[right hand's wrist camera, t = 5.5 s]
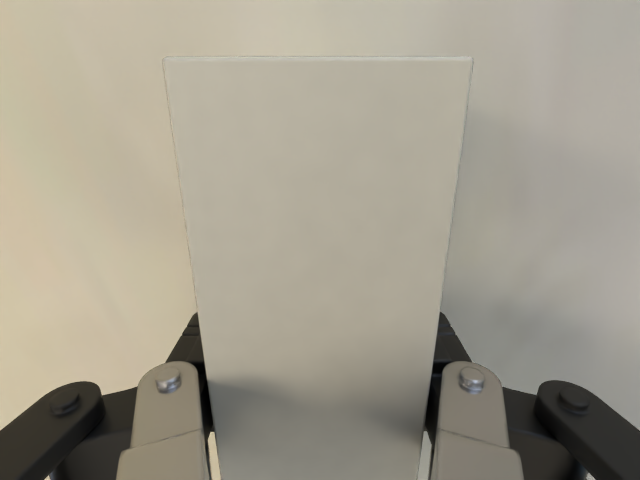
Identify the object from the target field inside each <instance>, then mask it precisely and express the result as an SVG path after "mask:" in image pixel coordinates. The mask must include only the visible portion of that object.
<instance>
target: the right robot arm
mask: <svg viewBox="0 0 640 480" xmlns="http://www.w3.org/2000/svg"><path fill="white" fill-rule="evenodd" d="M424 431H427V432H428V435H429V439H430V442H431V444H432V445H431V452H430V462H429V473H428V480H587V479H586V477H587V474H588V472H589V473H590V474H591V475H592V476H593V477H594V478H595V479H596V480H640V431H639V430H638V429H637V428H636V427H634V426H633V425H632V424H631V423H629V422H628V421H627V420H626V419H624V418H623V417H622V416H621V415H619V414H618V413H617V412H616V411H614V410H613V409H612V408H611V407H609V406H608V405H607V404H606V403H604V402H603V401H602V400H601V399H599V398H598V397H597V396H595V395H594V394H593V393H591V392H590V391H588V390H586V389H584V388H582V387H580V386H578V385H575V384H572V383H569V382H565V381H558V380H552V381H546V382H544V383H542V384H541V385H540V386H539V389H538V392H537V395H533V394H529V393H524V392H520V391H516V390H511V389H508V388H504V387H502V384H501V382H500V380H499V379H498V377H497V376H496V375H495V374H494V373H493V372H491V371H490V370H489V369H487V368H485V367H483V366H481V365H479V364H476V363H472V361H471V359H470V358H469V356H468V354H467V352H466V351H465V349H464V347H463V346H462V344H461V342H460V340H459V339H458V337H457V335H455V332H454V330H453V328H452V327H451V326H450V323H449V322H448V320H447V318H446V316H445V315H444V314H443V313H442V312H440V314H439V322H438V329H437V336H436V344H435V351H434V359H433V366H432V373H431V381H430V388H429V396H428V403H427V410H426V418H425V425H424ZM210 432H214V425H213V418H212V411H211V404H210V397H209V390H208V383H207V375H206V368H205V361H204V354H203V347H202V340H201V333H200V326H199V319H198V312H197V313H196V314H194V315H193V316H192V318H191V320H190V322H189V323H188V325H187V327H186V328H185V330H184V332H183V333H182V336H181V337H180V339H179V340H178V342H177V344H176V345H175V347H174V349H173V350H172V352H171V354H170V356H169V357H168V359H167V361H166V362H165V363H164V364H161V365H159V366H157V367H155V368H153V369H151V370H150V371H149V372H147V373H146V374H145V375H144V376H143V377H142V379H141V380H140V382H139V384H138V386H137V387H135V388H132V389H128V390H124V391H120V392H116V393H111V394H107V395H103V396H102V394H101V391H100V388H99V386H98V385H96V384H95V383H92V382H86V381H83V382H74V383H70V384H67V385H64V386H61V387H59V388H57V389H55V390H53V391H51V392H49V393H48V394H46V395H45V396H43V397H42V398H41V399H39V400H38V401H37V402H36V403H34V404H33V405H32V406H31V407H29V408H28V409H27V410H26V411H24V412H23V413H22V414H21V415H19V416H18V417H17V418H16V419H14V420H13V421H12V422H11V423H9V424H8V425H7V426H6V427H4V428H3V429H2V430H1V431H0V480H44V479H45V478H46V477H47V476H48V475H49V477H50V480H212V473H211V463H210V452H209V446H208V437H209V434H210Z"/></svg>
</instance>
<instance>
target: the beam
mask: <svg viewBox="0 0 640 480" xmlns="http://www.w3.org/2000/svg"><path fill="white" fill-rule="evenodd" d="M473 63H474V62H473V58H471V57H469V56H266V57H165V58H163V62H162V64H163V71H164V78H165V85H166V92H167V99H168V106H169V114H170V121H171V128H172V135H173V142H174V149H175V156H176V163H177V170H178V177H179V184H180V191H181V198H182V206H183V213H184V220H185V227H186V234H187V241H188V248H189V255H190V262H191V269H192V276H193V283H194V291H195V298H196V305H197V312H198V319H199V326H200V333H201V340H202V347H203V354H204V361H205V368H206V375H207V383H208V390H209V397H210V404H211V411H212V418H213V425H214V432H215V439H216V446H217V453H218V460H219V467H220V475H221V480H417V477H418V469H419V462H420V455H421V447H422V440H423V432H424V425H425V418H426V410H427V403H428V396H429V388H430V381H431V373H432V366H433V359H434V351H435V344H436V336H437V329H438V322H439V314H440V307H441V299H442V292H443V285H444V277H445V270H446V262H447V255H448V248H449V240H450V233H451V226H452V218H453V211H454V203H455V196H456V189H457V181H458V174H459V166H460V159H461V152H462V144H463V137H464V129H465V122H466V115H467V107H468V100H469V92H470V85H471V78H472V70H473Z"/></svg>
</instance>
